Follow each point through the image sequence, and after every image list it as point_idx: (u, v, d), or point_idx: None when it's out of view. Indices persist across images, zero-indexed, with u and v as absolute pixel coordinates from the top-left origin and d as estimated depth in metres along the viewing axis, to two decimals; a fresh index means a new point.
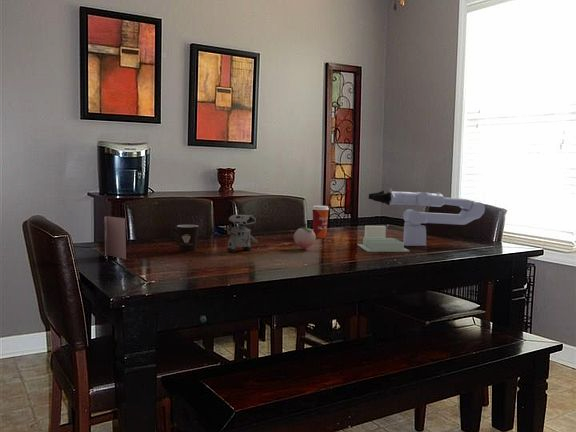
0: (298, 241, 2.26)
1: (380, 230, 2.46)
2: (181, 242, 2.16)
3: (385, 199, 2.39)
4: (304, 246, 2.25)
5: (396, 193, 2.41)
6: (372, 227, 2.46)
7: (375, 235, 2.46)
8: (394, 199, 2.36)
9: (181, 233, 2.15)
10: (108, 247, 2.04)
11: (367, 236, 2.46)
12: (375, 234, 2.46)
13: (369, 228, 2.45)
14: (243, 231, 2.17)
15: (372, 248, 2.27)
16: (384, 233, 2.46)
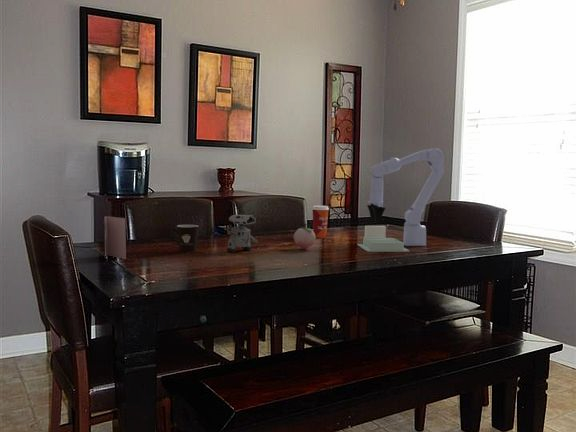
0: (298, 241, 2.26)
1: (380, 230, 2.46)
2: (181, 242, 2.16)
3: (379, 210, 2.42)
4: (304, 246, 2.25)
5: (372, 197, 2.44)
6: (372, 227, 2.46)
7: (375, 235, 2.46)
8: (381, 204, 2.39)
9: (181, 233, 2.15)
10: (108, 247, 2.04)
11: (367, 236, 2.46)
12: (375, 234, 2.46)
13: (369, 228, 2.46)
14: (243, 231, 2.17)
15: (372, 248, 2.27)
16: (384, 233, 2.46)
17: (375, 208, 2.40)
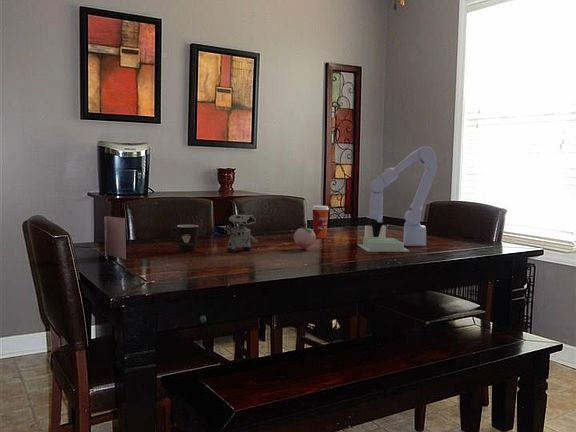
0: (298, 241, 2.26)
1: (380, 230, 2.46)
2: (181, 242, 2.16)
3: (377, 225, 2.45)
4: (304, 246, 2.25)
5: (372, 212, 2.44)
6: None
7: None
8: (380, 219, 2.39)
9: (181, 233, 2.15)
10: (108, 247, 2.04)
11: (367, 236, 2.46)
12: None
13: (369, 228, 2.45)
14: (243, 231, 2.17)
15: (372, 248, 2.27)
16: (384, 233, 2.46)
17: (373, 223, 2.43)
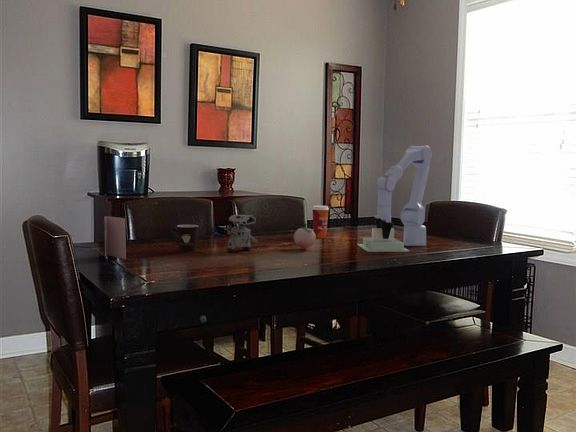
0: (298, 241, 2.26)
1: None
2: (181, 242, 2.16)
3: (387, 226, 2.30)
4: (304, 246, 2.25)
5: (380, 212, 2.31)
6: (379, 230, 2.33)
7: None
8: (389, 219, 2.26)
9: (181, 233, 2.15)
10: (108, 247, 2.04)
11: (374, 239, 2.33)
12: None
13: (376, 230, 2.33)
14: (243, 231, 2.17)
15: (372, 248, 2.27)
16: (392, 236, 2.34)
17: (383, 224, 2.28)
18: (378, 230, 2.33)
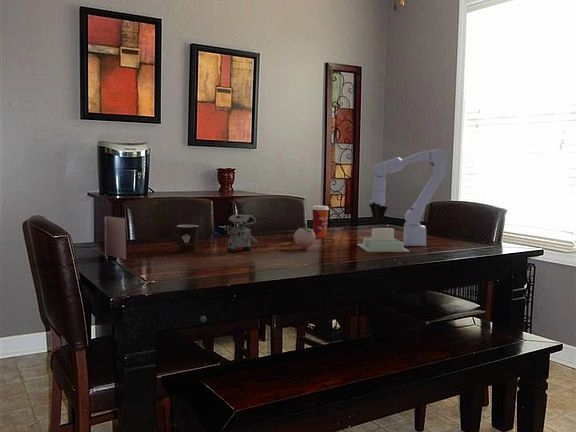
0: (298, 241, 2.26)
1: (388, 233, 2.33)
2: (181, 242, 2.16)
3: (381, 209, 2.42)
4: (304, 246, 2.25)
5: (375, 196, 2.44)
6: (379, 230, 2.33)
7: (383, 238, 2.33)
8: (383, 203, 2.39)
9: (181, 233, 2.15)
10: (108, 247, 2.04)
11: (374, 239, 2.33)
12: (383, 237, 2.33)
13: (376, 230, 2.33)
14: (243, 231, 2.17)
15: (372, 248, 2.27)
16: (392, 236, 2.34)
17: (377, 207, 2.40)
18: (378, 230, 2.33)
